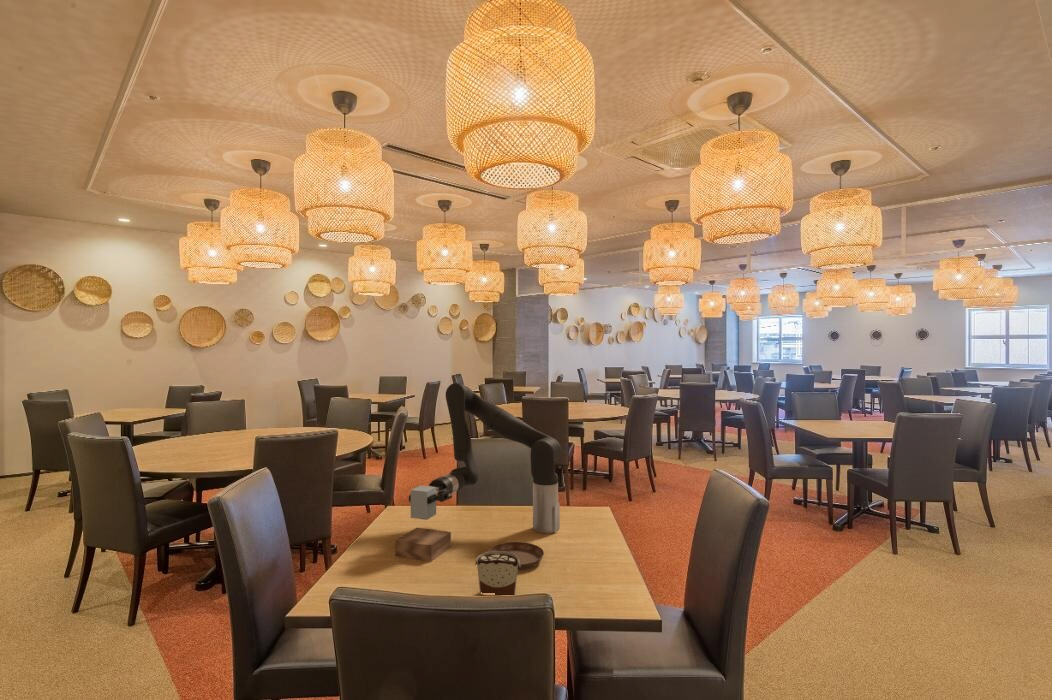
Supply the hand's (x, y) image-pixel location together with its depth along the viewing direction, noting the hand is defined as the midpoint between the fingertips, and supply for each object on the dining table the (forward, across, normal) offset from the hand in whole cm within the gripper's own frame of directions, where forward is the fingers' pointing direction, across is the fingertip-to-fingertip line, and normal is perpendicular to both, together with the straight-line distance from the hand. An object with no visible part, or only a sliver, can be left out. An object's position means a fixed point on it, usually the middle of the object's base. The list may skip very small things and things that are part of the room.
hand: (419, 499), depth 173 cm
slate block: (-3, 0, +6) cm, 7 cm away
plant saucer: (-6, +31, +18) cm, 36 cm away
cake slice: (+15, +34, +18) cm, 41 cm away
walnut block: (-3, 0, +18) cm, 18 cm away
